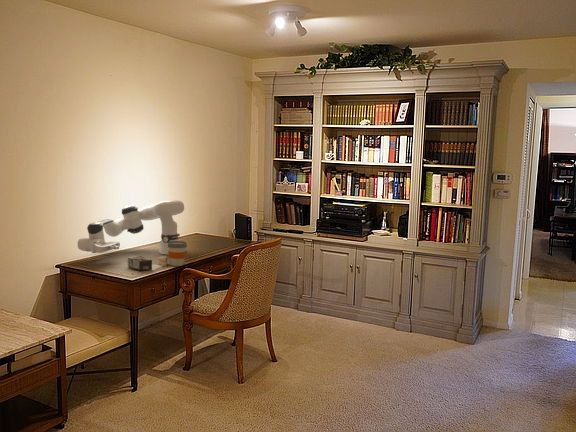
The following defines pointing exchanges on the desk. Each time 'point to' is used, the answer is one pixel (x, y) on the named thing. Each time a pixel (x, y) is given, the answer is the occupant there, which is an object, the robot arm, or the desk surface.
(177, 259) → the reusable coffee cup
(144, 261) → the coffee box
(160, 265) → the grey mat
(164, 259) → the maple block
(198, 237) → the desk surface
